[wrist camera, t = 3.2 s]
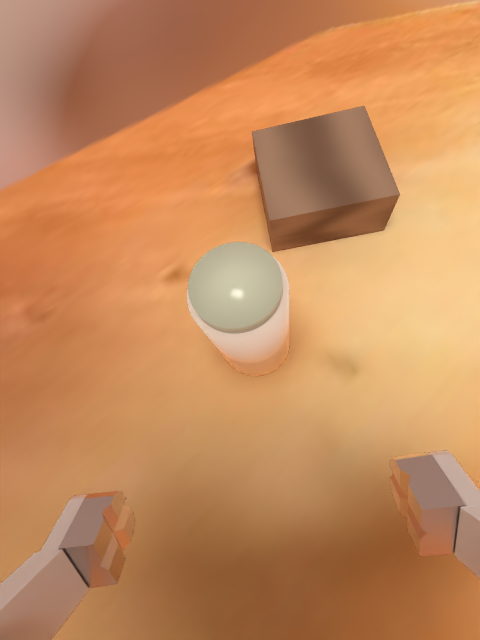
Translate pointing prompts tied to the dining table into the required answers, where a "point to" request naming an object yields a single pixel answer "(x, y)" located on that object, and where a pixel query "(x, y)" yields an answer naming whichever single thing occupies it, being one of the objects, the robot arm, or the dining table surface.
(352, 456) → the dining table surface
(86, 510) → the robot arm
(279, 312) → the jar
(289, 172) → the plinth
